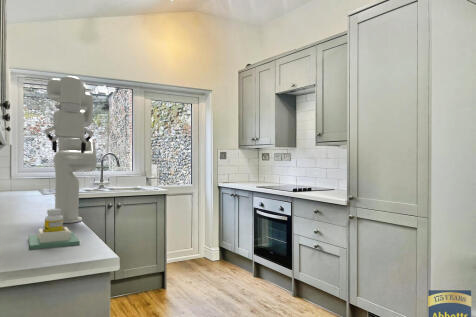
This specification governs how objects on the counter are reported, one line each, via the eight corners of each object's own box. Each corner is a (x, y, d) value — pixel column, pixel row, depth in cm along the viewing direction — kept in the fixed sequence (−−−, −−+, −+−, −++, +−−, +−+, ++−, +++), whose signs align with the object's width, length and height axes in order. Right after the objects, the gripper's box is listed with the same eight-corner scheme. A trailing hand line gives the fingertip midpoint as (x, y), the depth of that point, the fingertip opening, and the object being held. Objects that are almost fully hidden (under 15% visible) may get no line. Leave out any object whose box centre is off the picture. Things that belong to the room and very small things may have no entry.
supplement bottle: (45, 237, 119) (45, 208, 119) (63, 236, 121) (63, 208, 121) (43, 241, 114) (44, 210, 114) (62, 240, 116) (62, 210, 116)
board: (28, 239, 121) (29, 226, 121) (73, 235, 129) (73, 223, 129) (29, 249, 108) (30, 235, 108) (79, 244, 115) (79, 231, 115)
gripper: (45, 105, 130) (44, 151, 130) (95, 109, 139) (94, 153, 139) (44, 107, 137) (43, 152, 136) (92, 112, 146) (91, 153, 145)
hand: (69, 152), depth 138 cm, fingers open, 9 cm apart
